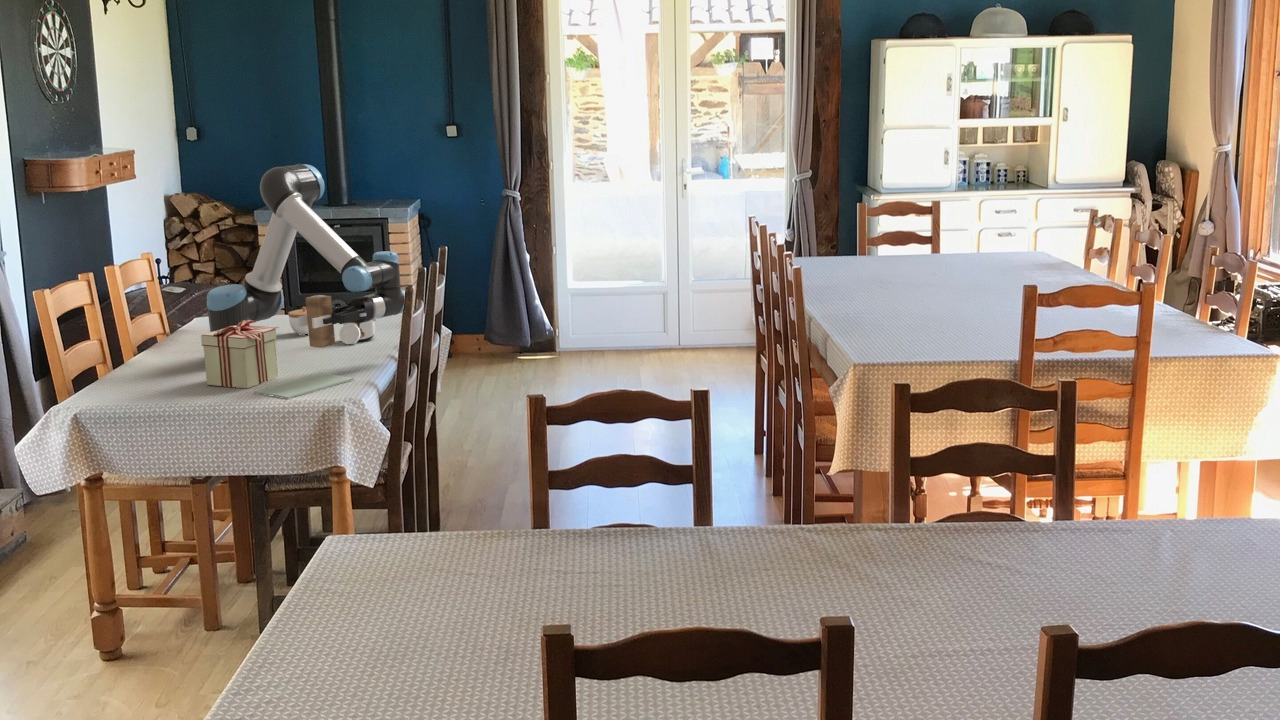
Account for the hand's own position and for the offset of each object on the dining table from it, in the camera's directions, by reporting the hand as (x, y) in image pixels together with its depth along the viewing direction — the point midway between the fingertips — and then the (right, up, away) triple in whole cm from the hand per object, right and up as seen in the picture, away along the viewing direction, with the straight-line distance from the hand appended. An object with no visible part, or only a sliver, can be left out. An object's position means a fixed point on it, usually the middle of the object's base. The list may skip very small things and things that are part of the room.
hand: (306, 322), depth 344 cm
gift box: (-20, -17, +11) cm, 28 cm away
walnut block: (+3, -6, +6) cm, 9 cm away
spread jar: (0, -5, +62) cm, 62 cm away
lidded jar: (-21, -2, +77) cm, 80 cm away
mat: (-1, -18, +2) cm, 18 cm away
